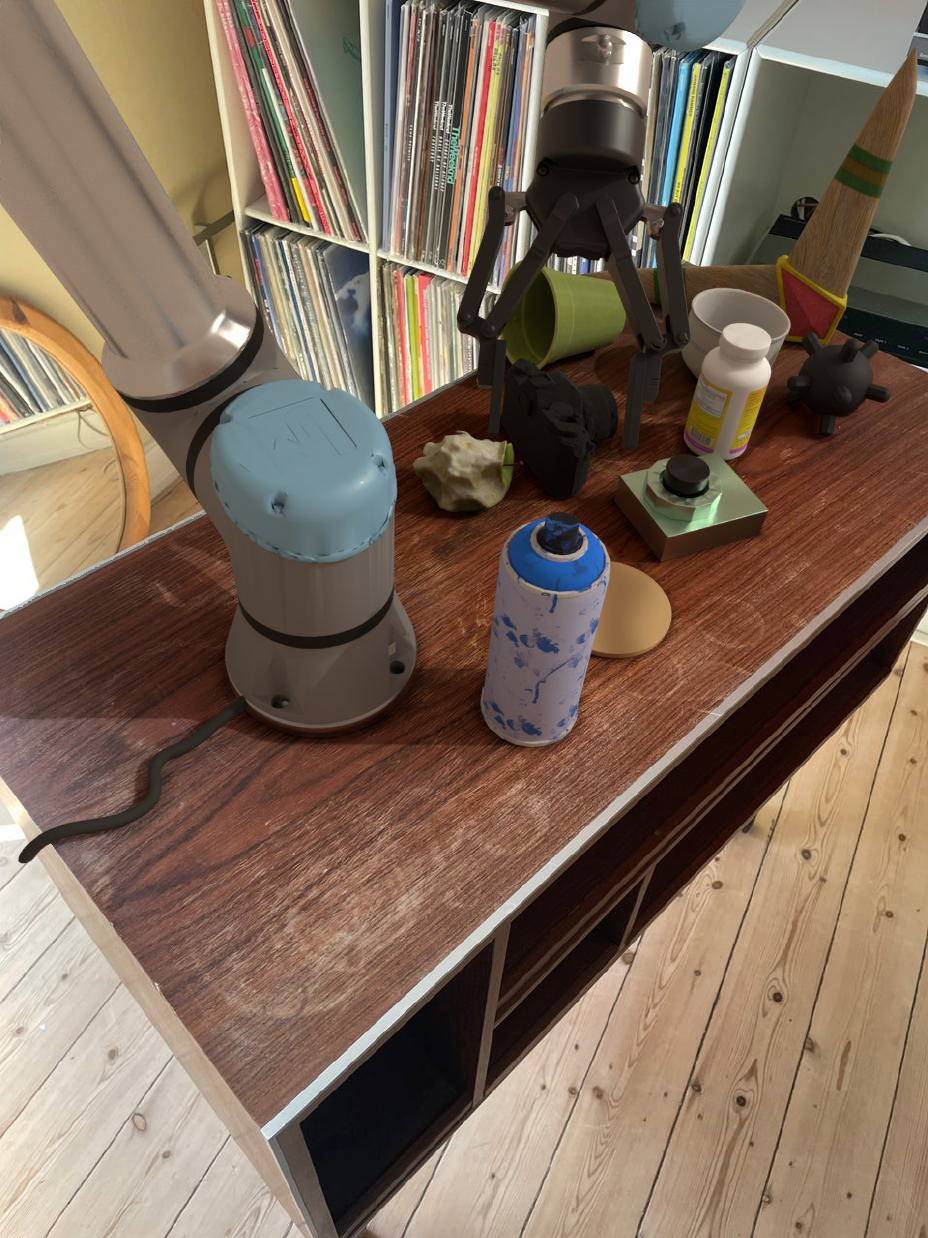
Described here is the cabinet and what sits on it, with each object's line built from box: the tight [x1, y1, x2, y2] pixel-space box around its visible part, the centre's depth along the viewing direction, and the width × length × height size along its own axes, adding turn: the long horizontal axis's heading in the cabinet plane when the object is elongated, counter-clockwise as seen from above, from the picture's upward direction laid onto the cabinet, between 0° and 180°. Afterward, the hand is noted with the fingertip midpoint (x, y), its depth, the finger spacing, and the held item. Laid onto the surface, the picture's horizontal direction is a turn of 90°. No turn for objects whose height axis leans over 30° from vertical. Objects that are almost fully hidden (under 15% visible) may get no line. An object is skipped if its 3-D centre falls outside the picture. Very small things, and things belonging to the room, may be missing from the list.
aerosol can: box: [479, 511, 611, 748], centre depth 67 cm, size 8×8×20 cm
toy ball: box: [784, 332, 892, 438], centre depth 99 cm, size 11×11×12 cm
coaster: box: [590, 560, 672, 659], centre depth 82 cm, size 11×11×1 cm
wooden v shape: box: [579, 46, 919, 346], centre depth 108 cm, size 22×41×6 cm
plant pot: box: [499, 259, 627, 371], centre depth 105 cm, size 12×12×11 cm
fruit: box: [412, 430, 524, 513], centre depth 89 cm, size 9×9×8 cm
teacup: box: [680, 288, 790, 379], centre depth 103 cm, size 14×11×8 cm
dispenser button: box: [662, 453, 710, 498], centre depth 86 cm, size 4×4×2 cm
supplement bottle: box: [683, 323, 772, 461], centre depth 94 cm, size 7×7×13 cm
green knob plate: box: [613, 452, 770, 563], centre depth 89 cm, size 11×9×5 cm
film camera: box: [500, 359, 620, 500], centre depth 93 cm, size 15×10×9 cm, turn 22°
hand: (561, 441), depth 67 cm, fingers open, 9 cm apart
